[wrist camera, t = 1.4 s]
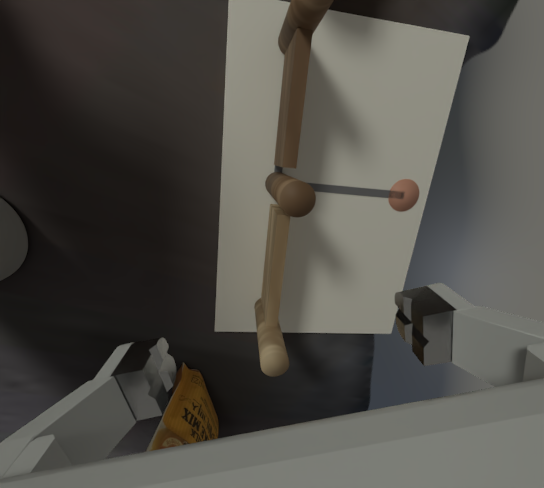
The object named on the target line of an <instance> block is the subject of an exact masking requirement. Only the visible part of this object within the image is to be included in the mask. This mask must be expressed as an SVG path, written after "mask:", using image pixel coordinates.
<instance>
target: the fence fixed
mask: <svg viewBox="0 0 544 488" xmlns="http://www.w3.org/2000/svg"><path fill="white" fill-rule="evenodd" d="M333 1H334V0H291V2H290V5H289V8H288V11H287V14H286V17H285V19H284V22H283V25H282V28H281V31H280V34H279V37H278V45H279V48H280V50H281V52H282V53H283V54H284V55H285V56H284V66H283V77H282V87H281V97H280V108H279V118H278V128H277V138H276V149H275V159H274V165H276V166H280V167H285V168H295V169H296V167H297V158H298V150H299V142H300V133H301V125H302V117H303V108H304V100H305V92H306V84H307V75H308V67H309V59H310V50H311V42H312V35H313V33H314V31H315V30H316V28H317V27H318V25H319V23H320V22H321V20H322V19H323V17H324V15H325V14H326V12H327V10H328V9H329V7H330V6H331V4H332V2H333ZM265 187H266V189H267V191H268V192H269V194H270V195H271V196H272V197H273V198H274V200H275V201H276V202H277V203H278V205H279V206H280V207H281V208H282V209H283V211H284V212H285V213H286V214H287V215H289V216H291V217H303V216H305V215H307V214H308V213H310V212H311V211H312V209H313V208H314V205H315V202H316V195H315V192H314V190H313V188H312V187H311V186H310V185H309V184H307V183H305V182H303V181H301V180H298V179H296V178H293V177H291V176H288V175H286V174H283V173H281V172H273V173H271V174H270V175H269V176H268V177H267V179H266V182H265Z"/></svg>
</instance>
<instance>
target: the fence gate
mask: <svg viewBox="0 0 544 488" xmlns="http://www.w3.org/2000/svg"><path fill="white" fill-rule="evenodd" d="M289 225H290V216H289V215H287V214H286V213H285V212H284V211H283V209H282V208H281V207H280V206H279V205H278V204H270V211H269V221H268V231H267V242H266V252H265V262H264V273H263V283H262V293H261V298H260V299H258V300H257V301H256V303H255V305H254V309H255V318H256V327H257V336H258V345H259V355H260V364H261V370H262V371H263V373H264V374H266V375H268V376H273V377H274V376H279V375H282V374H283V373H285V372H286V371H287V369H288V367H289V360H288V356H287V352H286V348H285V343H284V339H283V335H282V331H281V327H280V323H279V319H278V316H279V308H280V300H281V291H282V283H283V275H284V266H285V258H286V250H287V241H288V233H289Z"/></svg>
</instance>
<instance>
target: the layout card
mask: <svg viewBox="0 0 544 488" xmlns="http://www.w3.org/2000/svg"><path fill="white" fill-rule="evenodd" d="M289 5H290V2H284V1H279V0H229V8H228V31H227V54H226V77H225V101H224V124H223V147H222V171H221V194H220V217H219V240H218V264H217V287H216V310H215V332H257V327H256V318H255V309H254V305H255V303H256V301H257V300H258V299H260V298H261V293H262V283H263V273H264V262H265V252H266V242H267V231H268V221H269V211H270V204H278V203H277V202H276V201H275V200H274V198H273V197H272V196H271V195H270V194H269V192H268V191H267V189H266V187H265V182H266V179H267V177H268V176H269V175H270V174H271V173H273V172H281V173H283V174H286V175H288V176H291V177H293V178H296V179H298V180H301V181H303V182H305V183H307V184H309V185H310V186H311V187H312V188H313V190H314V192H315V195H316V202H315V205H314V208H313V209H312V211H311V212H310V213H308V214H307V215H305V216H303V217H291V216H290V225H289V233H288V241H287V250H286V258H285V266H284V275H283V283H282V291H281V300H280V308H279V316H278V319H279V323H280V327H281V331H282V332H289V333H365V334H391V332H392V328H393V324H394V320H395V317H396V316H395V314H396V313H397V309H398V307H397V305H396V304H395V293H396V292H401V291H403V287H404V283H405V279H406V275H407V272H408V268H409V264H410V260H411V256H412V252H413V249H414V245H415V241H416V237H417V234H418V229H419V226H420V222H421V219H422V215H423V211H424V207H425V203H426V200H427V196H428V192H429V188H430V184H431V181H432V177H433V173H434V169H435V166H436V162H437V158H438V154H439V150H440V146H441V143H442V139H443V135H444V131H445V127H446V124H447V120H448V116H449V112H450V109H451V105H452V101H453V97H454V93H455V90H456V86H457V82H458V78H459V75H460V71H461V67H462V63H463V59H464V56H465V52H466V48H467V44H468V40H469V37H470V36H467V35H462V34H456V33H451V32H445V31H440V30H435V29H429V28H424V27H419V26H413V25H408V24H402V23H397V22H392V21H386V20H381V19H376V18H370V17H365V16H359V15H354V14H349V13H343V12H338V11H333V10H327V12H326V14H325V15H324V17H323V19H322V20H321V22H320V23H319V25H318V27H317V28H316V30H315V31H314V33H313V35H312V42H311V50H310V59H309V67H308V75H307V84H306V92H305V100H304V108H303V117H302V125H301V133H300V142H299V150H298V158H297V167H296V169H295V168H285V167H280V166H276V165H274V159H275V149H276V138H277V128H278V118H279V108H280V97H281V87H282V77H283V66H284V56H285V55H284V54H283V53H282V52H281V50H280V48H279V45H278V37H279V34H280V31H281V28H282V25H283V22H284V19H285V17H286V14H287V11H288V8H289Z"/></svg>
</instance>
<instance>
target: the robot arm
mask: <svg viewBox="0 0 544 488" xmlns="http://www.w3.org/2000/svg"><path fill="white" fill-rule="evenodd" d="M395 304H396V305H397V307H398V308H399V310H398V311H397V313H396V314H395V316H396V324H397V327H398V331H399V333H400V335H401V336H402V338H403V339H404V341H405V342H407V343H409V344H411V345H412V350H413V352H414V354H415V355H416V356H417V357H418V359H419V360H420V361H421V363H422V364H423V365H424V366H428V365H434V364H440V363H447V362H452V363H453V364H455V365H457V366H459V367H460V368H462V369H464V370H466V371H468V372H469V373H471V374H473V375H475V376H477V377H478V378H480V379H482V380H484V381H485V382H487V383H489V384H491V385H493V386H494V387H493V388H488V389H483V390H477V391H472V392H466V393H461V394H456V395H451V396H445V397H440V398H434V399H428V400H423V401H418V402H412V403H407V404H402V405H396V406H391V407H385V408H380V409H374V410H369V411H363V412H358V413H352V414H347V415H341V416H336V417H330V418H325V419H320V420H314V421H309V422H304V423H298V424H293V425H288V426H282V427H277V428H272V429H266V430H261V431H256V432H250V433H245V434H240V435H234V436H229V437H223V438H218V439H213V440H207V441H202V442H196V443H191V444H186V445H180V446H175V447H169V448H164V449H159V450H153V451H148V452H142V453H137V454H131V455H126V456H121V457H115V458H110V459H105V458H106V456H107V455H108V454H109V453H110V452H111V451H112V450H113V448H114V447H115V446H116V445H117V444H118V443H119V442H120V440H121V439H122V438H123V437H124V436H125V435H126V434H127V432H128V431H129V430H130V429H131V428H132V427H133V426H134V424H135V423H136V421H138V420H143V419H147V418H152V417H156V416H161V415H163V412H164V410H165V407H166V404H167V402H168V399H169V396H168V393H167V392H168V391H169V390H170V389H171V388H172V387H173V385H174V382H175V379H176V365H175V361H174V359H173V357H172V356H170V355H169V354H168V353H167V351H168V348H169V346H168V343H167V341H166V339H164V338H156V339H150V340H144V341H138V342H132V343H127V344H123V345H120V346H118V347H117V348H116V349H115V351H114V352H113V353H112V355H111V356H110V358H109V359H108V360H107V362H106V363H105V364H104V366H103V367H102V368H101V370H100V371H99V372H98V374H97V375H96V377H95V378H94V379H93V380H91V381H88V382H86V383H85V384H83V385H82V386H80V387H79V388H78V389H76V390H75V391H73V392H72V393H71V394H69V395H68V396H66V397H65V398H63V399H62V400H61V401H59V402H58V403H56V404H55V405H53V406H52V407H51V408H49V409H48V410H46V411H45V412H44V413H42V414H41V415H39V416H38V417H36V418H35V419H34V420H32V421H31V422H29V423H28V424H27V425H25V426H24V427H22V428H21V429H19V430H18V431H17V432H15V433H14V434H12V435H11V436H9V437H8V438H7V439H5V440H4V441H2V442H1V443H0V488H544V323H543V322H540V321H536V320H532V319H528V318H525V317H521V316H517V315H513V314H509V313H505V312H502V311H497V310H494V309H490V308H486V307H482V306H478V307H475V306H474V305H472V304H471V303H469V302H468V301H466V300H465V299H464V298H462V297H461V296H460V295H458V294H457V293H455V292H454V291H453V290H451V289H450V288H448V287H447V286H446V285H444V284H442V283H436V284H432V285H428V286H424V287H419V288H415V289H410V290H406V291H401V292H396V293H395Z"/></svg>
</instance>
